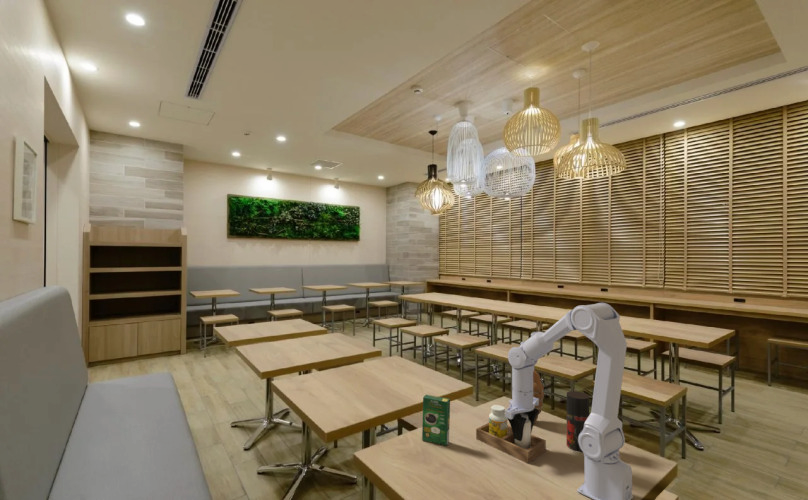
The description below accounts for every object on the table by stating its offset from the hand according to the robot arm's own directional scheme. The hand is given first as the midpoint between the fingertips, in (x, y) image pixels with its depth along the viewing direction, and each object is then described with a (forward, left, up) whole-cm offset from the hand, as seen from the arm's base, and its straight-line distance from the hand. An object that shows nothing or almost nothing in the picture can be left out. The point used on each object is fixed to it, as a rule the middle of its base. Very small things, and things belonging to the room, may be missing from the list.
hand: (522, 436), depth 106 cm
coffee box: (+20, +15, -4) cm, 25 cm away
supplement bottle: (+8, 0, -4) cm, 9 cm away
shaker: (0, 0, -2) cm, 3 cm away
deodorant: (-9, -14, -4) cm, 17 cm away
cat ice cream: (+8, -18, -4) cm, 20 cm away
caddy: (+4, 0, -4) cm, 6 cm away
